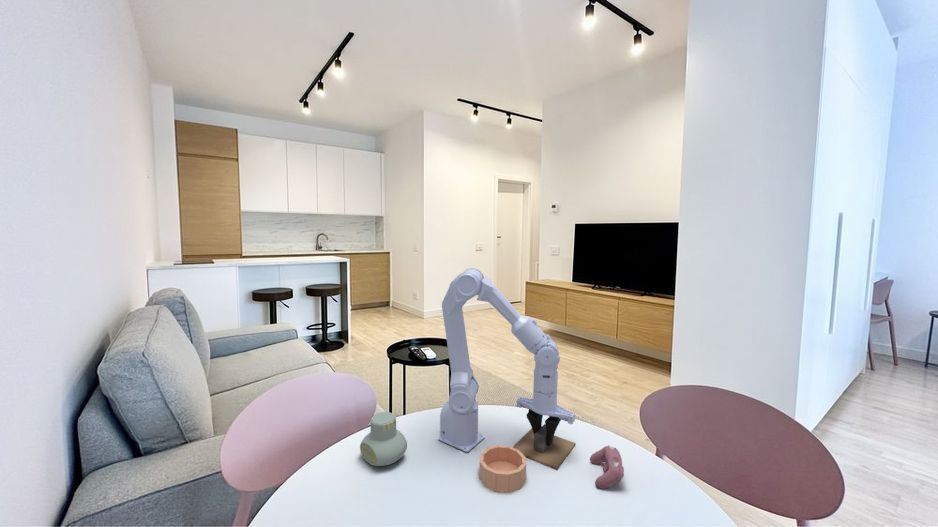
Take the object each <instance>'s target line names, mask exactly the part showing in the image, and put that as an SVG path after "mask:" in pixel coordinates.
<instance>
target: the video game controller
mask: <svg viewBox="0 0 938 527" xmlns="http://www.w3.org/2000/svg"><path fill="white" fill-rule="evenodd" d="M589 461H590V463H592V464H595V465H598V464H603V463H604V464H603V468H602V469H603V471H605V472H604V473H603V474H601V475H599V476H598V477H597V478H595V480H594V484H595V486H596V488H598V489H607V488H610V487H612V486H613V485H615V484H617V483H618V482H620V481H621V480H622V479H623V478H624V476H625V468H624V466H623V460H622V456H621V453H620V451H619V450H618V449H617V448H616V447H614V446H611V445H610V444H609V445H606V446H604V447H602V448H601V449H599V450H597V451H595V452H594V453H592V454H591V455H590V457H589Z"/></svg>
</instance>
